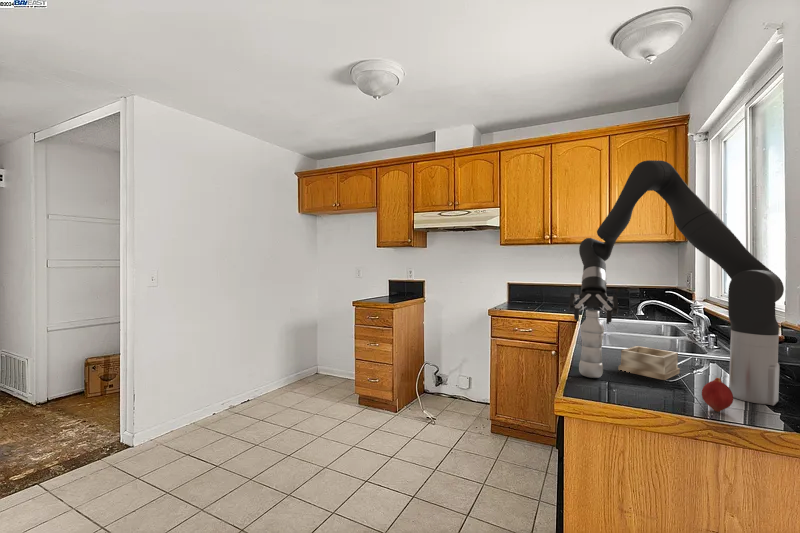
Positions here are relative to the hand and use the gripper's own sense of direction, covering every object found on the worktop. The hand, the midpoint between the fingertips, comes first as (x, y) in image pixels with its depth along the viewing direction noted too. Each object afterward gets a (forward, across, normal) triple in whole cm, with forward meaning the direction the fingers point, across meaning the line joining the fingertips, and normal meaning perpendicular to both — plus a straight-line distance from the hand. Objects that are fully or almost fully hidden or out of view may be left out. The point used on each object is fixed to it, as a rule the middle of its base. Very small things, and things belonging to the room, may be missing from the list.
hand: (592, 321), depth 124 cm
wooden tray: (+4, +16, +19) cm, 25 cm away
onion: (+27, +27, -4) cm, 38 cm away
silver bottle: (+16, 0, +7) cm, 17 cm away
